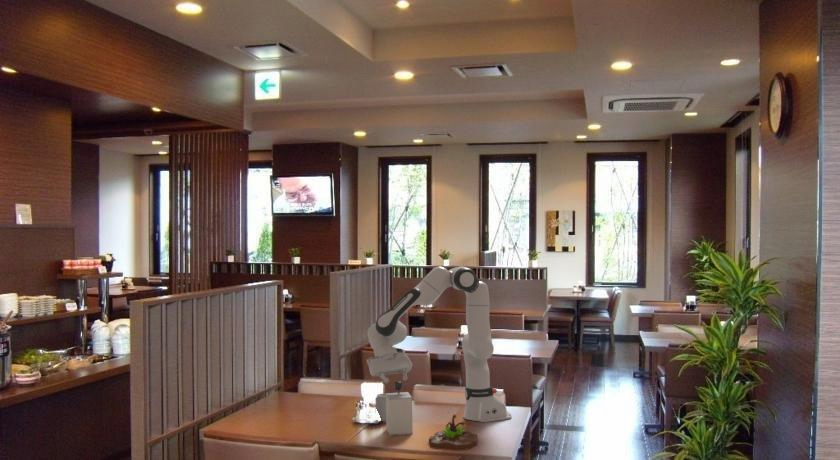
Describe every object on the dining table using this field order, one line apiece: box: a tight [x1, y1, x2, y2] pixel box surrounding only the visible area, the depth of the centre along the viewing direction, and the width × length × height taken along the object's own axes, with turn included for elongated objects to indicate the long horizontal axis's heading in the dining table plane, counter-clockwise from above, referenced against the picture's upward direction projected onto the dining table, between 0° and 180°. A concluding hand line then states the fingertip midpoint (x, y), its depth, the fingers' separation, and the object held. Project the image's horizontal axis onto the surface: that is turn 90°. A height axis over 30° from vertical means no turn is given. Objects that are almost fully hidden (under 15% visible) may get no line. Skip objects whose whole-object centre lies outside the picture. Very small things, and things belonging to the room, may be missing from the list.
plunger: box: [394, 380, 404, 396], centre depth 300 cm, size 8×8×21 cm
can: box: [375, 393, 386, 423], centre depth 319 cm, size 8×8×12 cm
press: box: [385, 391, 414, 437], centre depth 300 cm, size 10×10×16 cm
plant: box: [428, 414, 478, 451], centre depth 284 cm, size 20×20×11 cm
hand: (396, 380), depth 302 cm, fingers open, 8 cm apart
